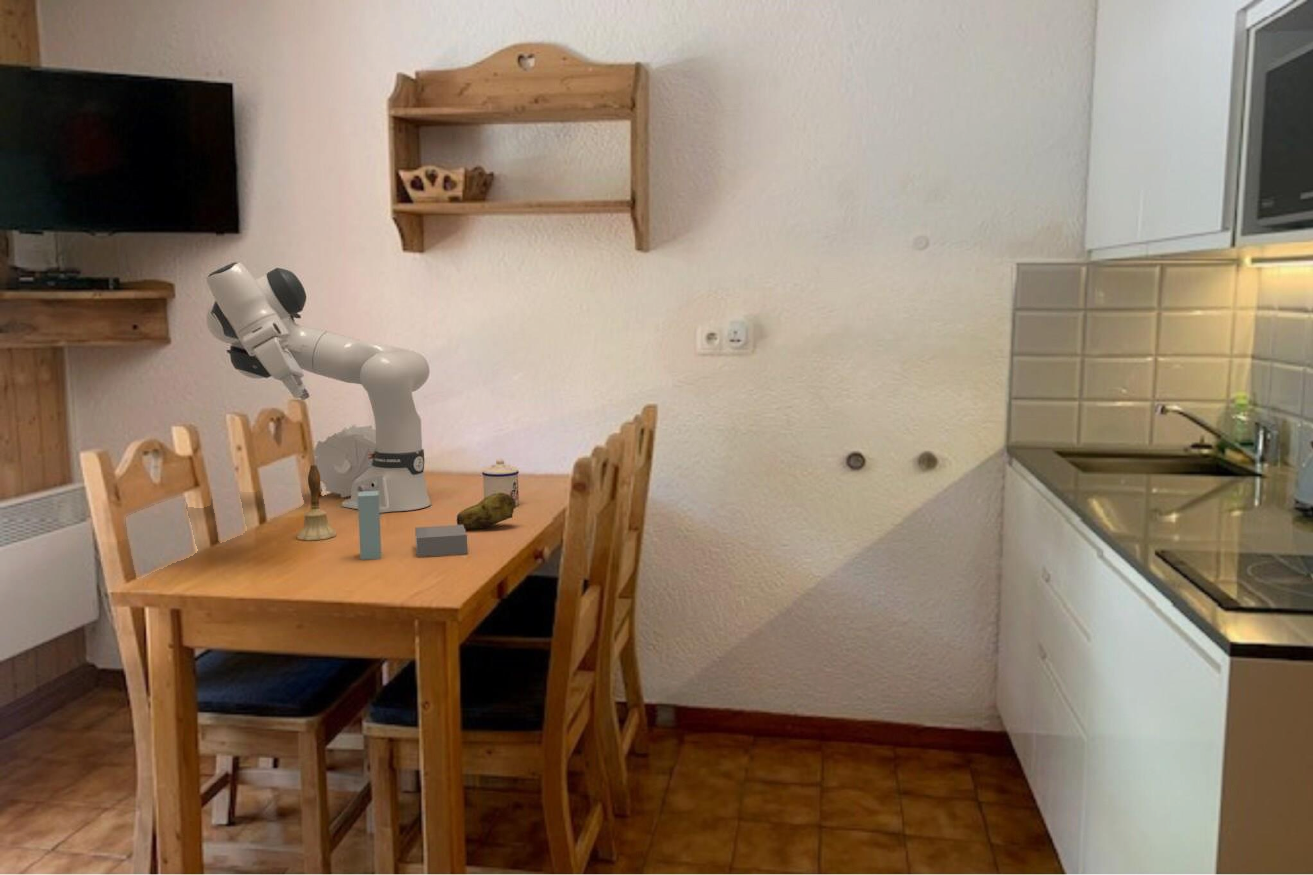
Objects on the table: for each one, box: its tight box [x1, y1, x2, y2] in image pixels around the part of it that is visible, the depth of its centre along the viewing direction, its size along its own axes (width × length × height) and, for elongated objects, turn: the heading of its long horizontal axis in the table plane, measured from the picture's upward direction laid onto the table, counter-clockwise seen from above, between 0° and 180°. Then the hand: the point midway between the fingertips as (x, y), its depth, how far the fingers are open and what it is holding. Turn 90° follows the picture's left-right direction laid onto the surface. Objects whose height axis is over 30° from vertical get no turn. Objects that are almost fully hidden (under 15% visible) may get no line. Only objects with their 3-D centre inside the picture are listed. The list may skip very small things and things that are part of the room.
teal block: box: [357, 491, 382, 561], centre depth 212 cm, size 4×5×13 cm
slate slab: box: [414, 524, 468, 558], centre depth 217 cm, size 10×10×4 cm
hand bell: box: [296, 464, 337, 542], centre depth 229 cm, size 8×8×16 cm
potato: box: [456, 493, 516, 530], centre depth 237 cm, size 8×13×8 cm, turn 87°
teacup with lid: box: [481, 459, 520, 507], centre depth 263 cm, size 12×9×12 cm
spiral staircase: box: [312, 423, 377, 499], centre depth 282 cm, size 18×18×25 cm
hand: (303, 397), depth 209 cm, fingers open, 8 cm apart
